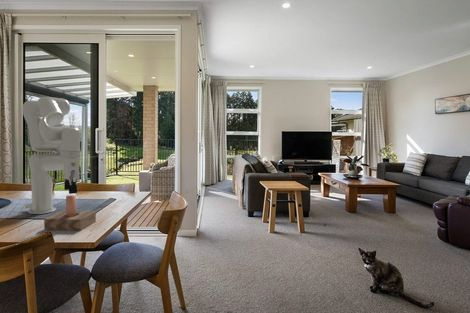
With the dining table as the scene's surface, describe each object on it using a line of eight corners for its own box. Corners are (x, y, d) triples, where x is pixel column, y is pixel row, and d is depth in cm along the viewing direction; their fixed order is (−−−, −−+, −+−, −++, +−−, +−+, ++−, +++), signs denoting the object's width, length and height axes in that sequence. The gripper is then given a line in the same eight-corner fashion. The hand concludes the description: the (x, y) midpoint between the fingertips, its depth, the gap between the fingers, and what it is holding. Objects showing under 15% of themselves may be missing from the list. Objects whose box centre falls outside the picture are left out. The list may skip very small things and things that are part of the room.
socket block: (44, 229, 128) (44, 218, 128) (62, 220, 142) (62, 210, 142) (80, 230, 128) (80, 219, 128) (95, 221, 142) (95, 211, 142)
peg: (64, 226, 133) (64, 196, 132) (69, 224, 137) (69, 194, 136) (73, 227, 133) (72, 196, 132) (77, 224, 137) (77, 195, 136)
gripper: (84, 156, 129) (84, 194, 130) (75, 153, 142) (75, 187, 143) (65, 156, 124) (65, 195, 125) (57, 153, 137) (57, 188, 139)
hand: (70, 191), depth 134 cm, fingers open, 9 cm apart
